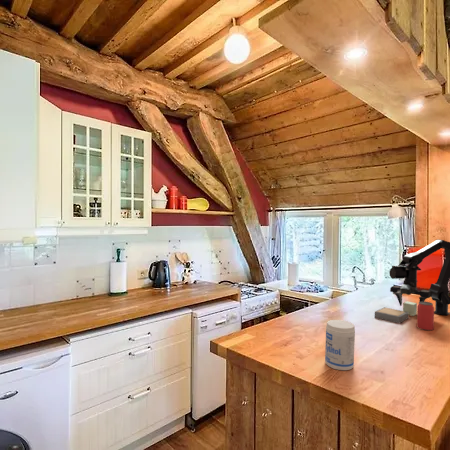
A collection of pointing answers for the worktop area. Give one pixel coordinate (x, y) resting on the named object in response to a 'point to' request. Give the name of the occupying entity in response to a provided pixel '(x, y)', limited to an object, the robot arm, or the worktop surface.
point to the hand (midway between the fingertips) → (410, 307)
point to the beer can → (425, 316)
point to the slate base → (391, 315)
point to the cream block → (410, 308)
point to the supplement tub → (340, 344)
